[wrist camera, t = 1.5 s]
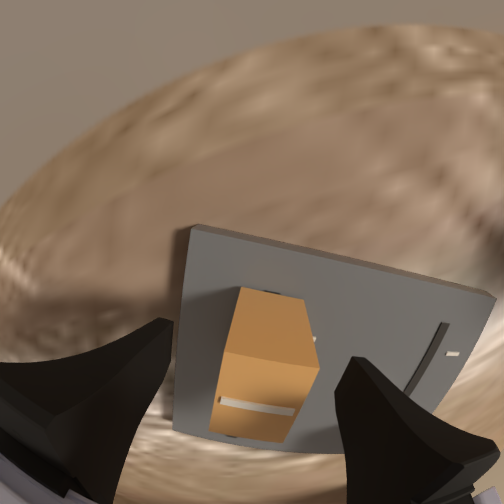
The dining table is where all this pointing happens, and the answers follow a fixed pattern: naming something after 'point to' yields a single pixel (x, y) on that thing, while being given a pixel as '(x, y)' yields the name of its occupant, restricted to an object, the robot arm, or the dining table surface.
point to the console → (320, 328)
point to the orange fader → (264, 367)
